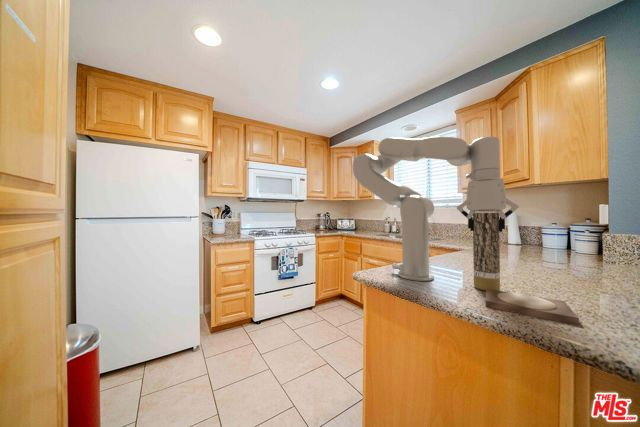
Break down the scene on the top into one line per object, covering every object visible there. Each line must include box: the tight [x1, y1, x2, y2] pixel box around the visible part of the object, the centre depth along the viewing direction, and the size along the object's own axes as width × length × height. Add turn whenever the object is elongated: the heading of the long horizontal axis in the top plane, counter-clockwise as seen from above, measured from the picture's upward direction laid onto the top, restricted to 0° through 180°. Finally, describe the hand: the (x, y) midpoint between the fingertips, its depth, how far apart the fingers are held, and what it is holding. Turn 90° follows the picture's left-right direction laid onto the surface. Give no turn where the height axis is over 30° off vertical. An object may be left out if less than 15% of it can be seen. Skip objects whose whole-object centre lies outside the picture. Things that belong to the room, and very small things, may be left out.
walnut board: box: [485, 289, 580, 326], centre depth 57 cm, size 16×12×2 cm
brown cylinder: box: [472, 211, 501, 292], centre depth 71 cm, size 7×7×25 cm
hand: (485, 230), depth 72 cm, fingers closed on brown cylinder, 6 cm apart
